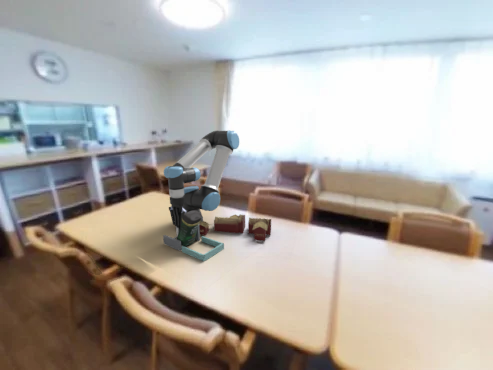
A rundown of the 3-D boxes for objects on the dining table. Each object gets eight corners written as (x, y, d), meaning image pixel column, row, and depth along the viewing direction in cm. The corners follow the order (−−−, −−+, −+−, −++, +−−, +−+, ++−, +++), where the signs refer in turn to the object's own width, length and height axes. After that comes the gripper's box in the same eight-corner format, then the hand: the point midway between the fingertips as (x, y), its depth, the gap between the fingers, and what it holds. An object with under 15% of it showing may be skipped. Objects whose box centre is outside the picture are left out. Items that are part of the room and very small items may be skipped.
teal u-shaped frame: (202, 240, 132) (202, 235, 131) (224, 248, 123) (223, 243, 122) (181, 251, 120) (181, 246, 119) (204, 261, 111) (203, 255, 110)
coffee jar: (183, 249, 123) (191, 220, 115) (173, 240, 126) (180, 212, 118) (197, 241, 131) (205, 214, 123) (187, 233, 134) (194, 206, 126)
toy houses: (271, 227, 150) (271, 212, 148) (269, 242, 130) (270, 225, 128) (202, 223, 156) (202, 209, 154) (191, 237, 136) (190, 221, 134)
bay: (184, 234, 140) (183, 218, 137) (200, 240, 132) (199, 223, 130) (163, 244, 128) (162, 227, 126) (179, 250, 121) (178, 233, 119)
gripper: (163, 195, 125) (166, 236, 131) (179, 200, 118) (182, 243, 124) (174, 192, 131) (177, 232, 137) (190, 196, 124) (192, 238, 130)
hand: (179, 237), depth 130 cm, fingers closed
